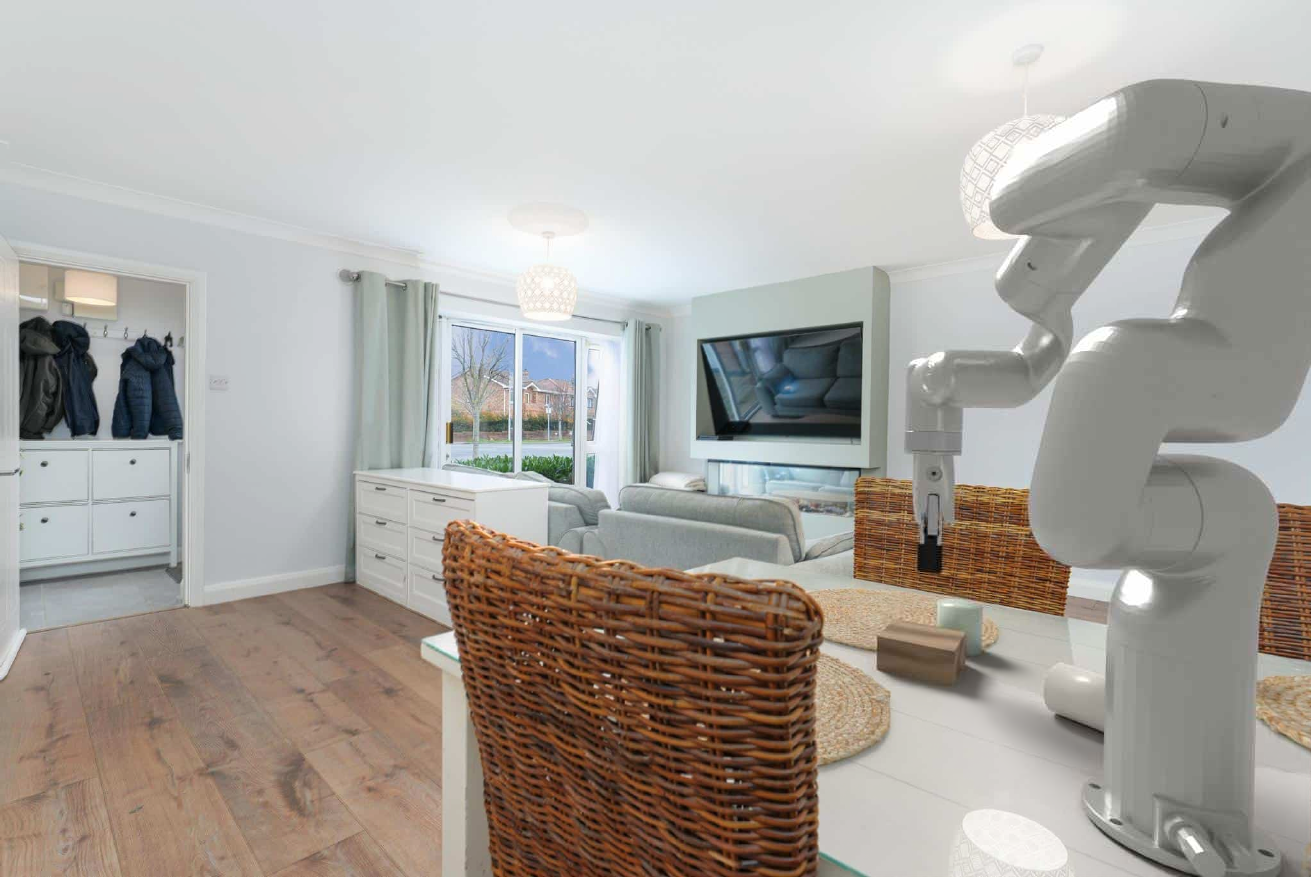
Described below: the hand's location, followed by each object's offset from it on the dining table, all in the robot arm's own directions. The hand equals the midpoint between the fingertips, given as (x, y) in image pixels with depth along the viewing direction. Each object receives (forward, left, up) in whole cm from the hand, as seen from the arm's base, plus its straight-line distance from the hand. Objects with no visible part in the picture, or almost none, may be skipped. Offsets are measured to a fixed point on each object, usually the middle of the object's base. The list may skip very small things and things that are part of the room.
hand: (929, 571), depth 87 cm
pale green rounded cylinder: (+11, -5, -14) cm, 18 cm away
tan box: (0, +1, -14) cm, 14 cm away
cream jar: (-9, -14, -11) cm, 20 cm away
